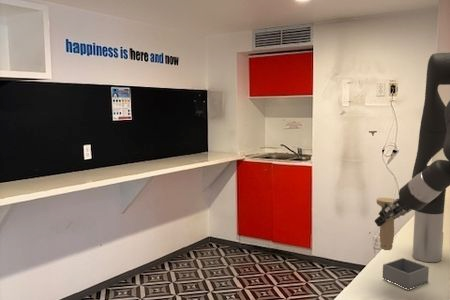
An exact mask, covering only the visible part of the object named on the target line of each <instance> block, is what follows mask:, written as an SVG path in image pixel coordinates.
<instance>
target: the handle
mask: <svg viewBox="0 0 450 300" xmlns="http://www.w3.org/2000/svg"><path fill="white" fill-rule="evenodd" d="M396 199H397V198H391V197H377V198H376V204H377V205H378V206H379V207H380V208H381V209H382V208H383V207H384V206H385V205H386V204H388V205H390V204H392V203H393V201H394V200H396ZM394 238H395V219H394V217H392V218H390V219H389V220H388V221H386V222H385V223H384V224H382V225H381V226H379V242H380V245H379V246H380V249H382V250H383V251H391V250H392V249H393V243H394Z"/></svg>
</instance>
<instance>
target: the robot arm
mask: <svg viewBox="0 0 450 300" xmlns="http://www.w3.org/2000/svg"><path fill="white" fill-rule="evenodd" d="M425 79H426V81H425V92H424V93H425V94H424V104H423V109H422V114H421V118H420V119H421V120H420V125H419V131H418V132H419V134H418V141H417V142H418V144H417V152H416V156H415V161H414V165H413V170H412V175H411V179H410V180H409V181H408V182H406V183H405V184H404V185H403V186H402V187H400V188H399V190H398V198H395V199H396V200H394V201H393V203H392V204H390V205H388V204H386V205H385V206H384V207H383V208H382V207H381V209H380V211H379V212H378V215H379V216H378V217H377V218H375V219H374V223H375V224H376V226H377V227H380V226H381V225H382V224H384V223H385V222H386V221H388V220H389V219H390V218H392V217H394V220H396V219H399V218H400V217H401V216H402V217H403V216H405V215H406V214H408V213H409V212H411V211H414V220H413V221H414V222H413V239H412V257H413V258H414V259H416V260H417V261H420V262H425V263H439V262H441V261H442V258H443V246H444V216H445V213H444V212H445V202H446V192H447V188H448V187H450V100H449V101H448V103H447V104H446V105H445V103H444V101H443V99H442V97H441V95H440V93H439V86H441V85H442V86H449V85H450V52H438V53H437V52H435V53H433V54H431V55H430V57H429V59H428V62H427V68H426V78H425ZM440 151H442V153H443V154H444V157H445V158H446V160H445V159H436V160H434V161H433V162H432V163H430V164H429V162H430V161H431V159H432V158H433V157H435V156H436V155H437V154H438V153H439V152H440ZM428 164H429V165H428Z"/></svg>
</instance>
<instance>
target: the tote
mask: <svg viewBox="0 0 450 300" xmlns="http://www.w3.org/2000/svg"><path fill="white" fill-rule="evenodd" d="M429 269H430V266H427V265H424V264H421V263H420V262H419V263H418V262H416V261H413V260H410V259H407V258H405V257H401V258H398V259H396V260H395V259H394V260H392V261H390V262H387V263H386V262H385V263H384V264H382V278H384V279H386V280H389V281H391V282H393V283H396V284H398V285H400V286H402V287H404V288H407V289H410V288H413V287H416V286H418V287H420V286H419V285H421V284H423V285H425V284H427V282H428V283H429ZM424 283H425V284H424ZM421 286H422V285H421ZM416 288H417V287H416ZM413 289H414V288H413Z"/></svg>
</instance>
